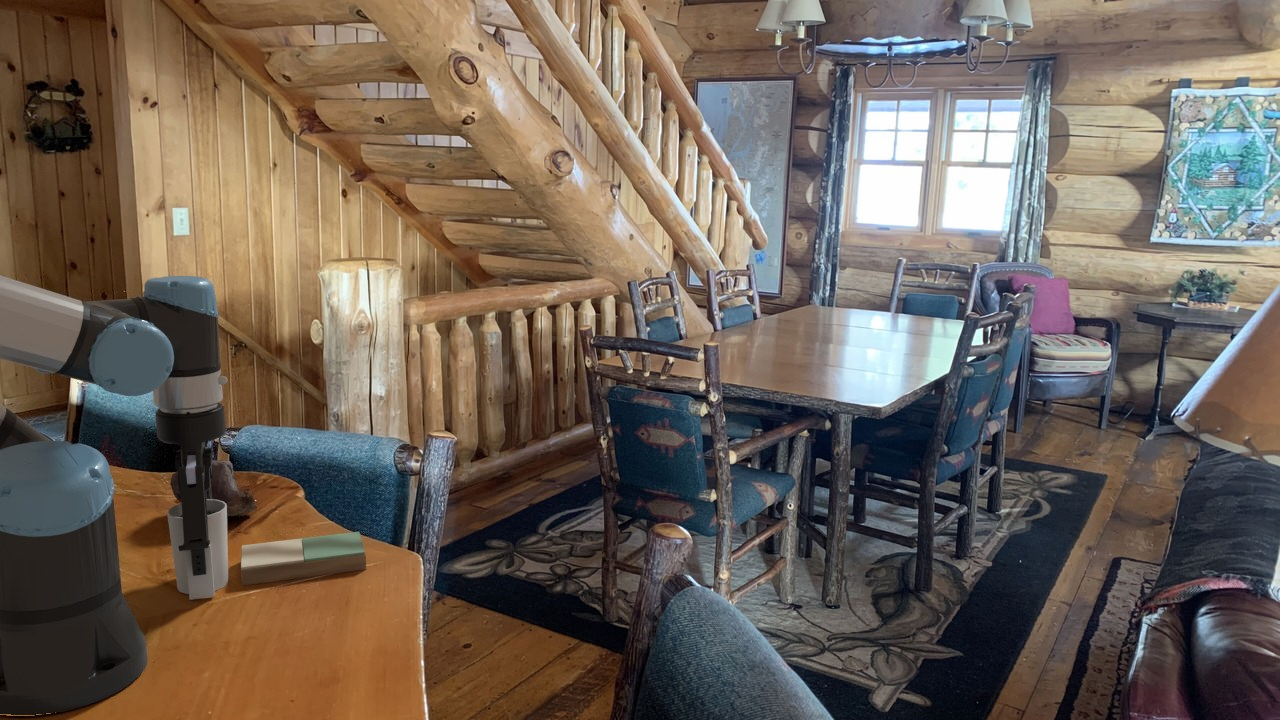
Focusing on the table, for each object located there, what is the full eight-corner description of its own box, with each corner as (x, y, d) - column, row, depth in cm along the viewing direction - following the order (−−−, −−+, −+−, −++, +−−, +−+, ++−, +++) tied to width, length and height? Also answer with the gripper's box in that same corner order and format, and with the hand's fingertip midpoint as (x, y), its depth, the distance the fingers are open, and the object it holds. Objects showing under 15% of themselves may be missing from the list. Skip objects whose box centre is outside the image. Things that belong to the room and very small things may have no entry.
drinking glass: (215, 568, 123) (210, 495, 121) (242, 583, 119) (237, 507, 117) (163, 585, 118) (157, 509, 116) (189, 601, 114) (183, 522, 112)
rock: (234, 506, 149) (163, 521, 142) (229, 450, 148) (157, 461, 141) (265, 516, 140) (190, 532, 133) (259, 456, 140) (183, 468, 132)
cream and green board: (366, 569, 124) (365, 552, 124) (241, 585, 119) (240, 568, 118) (360, 546, 131) (359, 530, 131) (242, 560, 126) (241, 544, 125)
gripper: (221, 425, 106) (234, 614, 111) (226, 384, 125) (237, 547, 130) (145, 431, 103) (163, 624, 108) (162, 388, 122) (177, 554, 127)
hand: (203, 581), depth 119 cm, fingers open, 8 cm apart
